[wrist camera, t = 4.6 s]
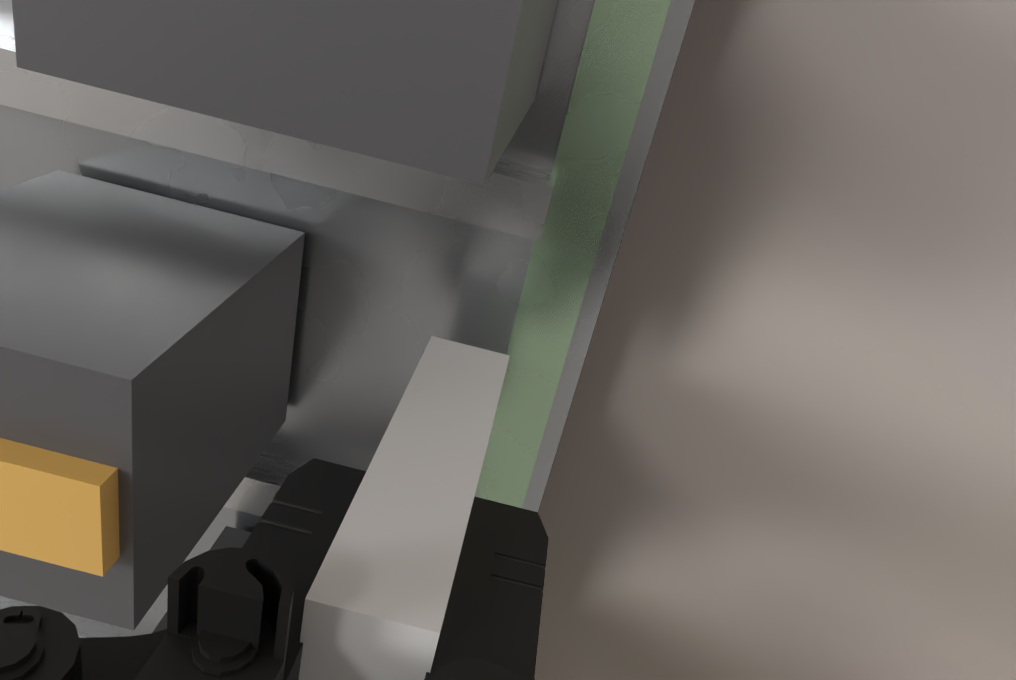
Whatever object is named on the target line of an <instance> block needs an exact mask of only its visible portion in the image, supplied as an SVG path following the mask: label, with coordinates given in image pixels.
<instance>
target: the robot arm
mask: <svg viewBox="0 0 1016 680" xmlns="http://www.w3.org/2000/svg"><path fill="white" fill-rule="evenodd" d="M509 357H510V355H506V354H502V353H498V352H494V351H490V350H486V349H482V348H478V347H474V346H470V345H466V344H462V343H458V342H454V341H450V340H446V339H442V338H438V337H434V336H431V338H430V340H429V342H428V344H427V347H426V349H425V351H424V353H423V355H422V357H421V359H420V361H419V363H418V365H417V367H416V369H415V371H414V374H413V376H412V378H411V380H410V382H409V384H408V386H407V388H406V390H405V392H404V394H403V396H402V399H401V401H400V403H399V405H398V407H397V409H396V411H395V413H394V415H393V417H392V419H391V421H390V424H389V426H388V428H387V430H386V432H385V434H384V436H383V438H382V440H381V442H380V444H379V446H378V448H377V451H376V453H375V455H374V457H373V459H372V461H371V463H370V465H369V467H368V469H367V471H363V470H359V469H355V468H351V467H347V466H343V465H340V464H336V463H332V462H328V461H324V460H320V459H316V458H313V459H312V460H310V461H309V462H307V463H306V464H304V465H302V466H301V467H299V468H298V469H296V470H295V471H293V472H292V473H290V474H289V475H288V476H287V477H286V479H285V481H284V482H283V484H282V485H281V487H280V488H279V490H278V492H277V493H276V495H275V496H274V498H273V501H272V503H270V504H269V506H268V507H267V509H266V511H265V512H264V514H263V515H262V517H261V520H260V522H259V523H257V525H256V526H255V528H254V529H253V531H252V533H251V534H250V536H249V537H248V539H247V541H246V542H245V544H244V545H243V547H242V548H235V547H229V548H223V549H217V550H211V551H206V552H204V553H202V554H200V555H198V556H195V557H193V558H191V559H189V560H187V561H185V562H184V563H182V564H181V565H180V566H179V567H178V568H177V569H176V570H175V571H174V572H173V573H172V574H171V575H170V576H169V577H168V599H167V629H164V630H161V631H158V632H154V633H151V634H144V635H136V636H123V637H94V638H79V636H78V632H77V628H76V625H75V624H74V623H73V622H72V621H71V620H69V619H68V618H67V617H66V616H65V615H64V614H63V613H62V612H59V611H56V610H52V609H49V608H46V607H42V606H11V607H7V608H4V609H0V680H535V679H534V674H535V664H536V654H537V645H538V635H539V625H540V615H541V605H542V596H543V592H542V591H543V586H544V576H545V565H546V557H547V547H548V536H547V534H546V531H545V529H544V527H543V524H542V522H541V519H540V517H539V515H538V512H535V511H531V510H527V509H523V508H519V507H515V506H511V505H507V504H503V503H499V502H495V501H491V500H487V499H483V498H479V497H475V493H476V489H477V485H478V481H479V477H480V473H481V469H482V465H483V461H484V457H485V453H486V449H487V445H488V441H489V437H490V433H491V429H492V425H493V421H494V417H495V413H496V409H497V405H498V401H499V397H500V393H501V389H502V385H503V381H504V377H505V373H506V369H507V365H508V361H509Z"/></svg>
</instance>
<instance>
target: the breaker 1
mask: <svg viewBox="0 0 1016 680" xmlns="http://www.w3.org/2000/svg"><path fill="white" fill-rule="evenodd" d="M556 4H557V0H12V10H13V23H14V37H15V50H16V63H17V67H18V68H22V69H26V70H30V71H34V72H38V73H42V74H46V75H50V76H54V77H58V78H62V79H66V80H70V81H74V82H78V83H82V84H85V85H89V86H93V87H97V88H101V89H105V90H109V91H113V92H117V93H121V94H125V95H129V96H133V97H137V98H141V99H145V100H149V101H153V102H157V103H161V104H165V105H168V106H172V107H176V108H180V109H184V110H188V111H192V112H196V113H200V114H204V115H208V116H212V117H216V118H220V119H224V120H228V121H232V122H236V123H240V124H244V125H248V126H251V127H255V128H259V129H263V130H267V131H271V132H275V133H279V134H283V135H287V136H291V137H295V138H299V139H303V140H307V141H311V142H315V143H319V144H323V145H327V146H331V147H335V148H338V149H342V150H346V151H350V152H354V153H358V154H362V155H366V156H370V157H374V158H378V159H382V160H386V161H390V162H394V163H398V164H402V165H406V166H410V167H414V168H418V169H421V170H425V171H429V172H433V173H437V174H441V175H445V176H449V177H453V178H457V179H461V180H465V181H469V182H473V183H477V184H481V185H485V183H486V181H487V179H488V178H489V176H490V174H491V173H492V171H493V169H494V168H495V166H496V164H497V162H498V161H499V159H500V157H501V156H502V154H503V152H504V150H505V149H506V147H507V145H508V144H509V142H510V140H511V139H512V137H513V135H514V133H515V132H516V130H517V128H518V127H519V125H520V123H521V122H522V120H523V118H524V116H525V115H526V113H527V111H528V110H529V108H530V106H531V105H532V103H533V101H534V99H535V96H536V91H537V87H538V83H539V78H540V74H541V70H542V65H543V61H544V57H545V52H546V48H547V44H548V39H549V35H550V30H551V26H552V22H553V17H554V13H555V9H556Z"/></svg>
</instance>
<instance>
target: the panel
mask: <svg viewBox="0 0 1016 680" xmlns="http://www.w3.org/2000/svg"><path fill="white" fill-rule="evenodd" d="M694 2H695V0H557V4H556V9H555V13H554V17H553V22H552V26H551V30H550V35H549V39H548V44H547V48H546V52H545V57H544V61H543V65H542V70H541V74H540V78H539V83H538V87H537V91H536V96H535V99H534V101H533V103H532V105H531V106H530V108H529V110H528V111H527V113H526V115H525V116H524V118H523V120H522V122H521V123H520V125H519V127H518V128H517V130H516V132H515V133H514V135H513V137H512V139H511V140H510V142H509V144H508V145H507V147H506V149H505V150H504V152H503V154H502V156H501V157H500V159H499V161H498V162H497V164H496V166H495V168H494V169H493V171H492V173H491V174H490V176H489V178H488V179H487V181H486V183H485V185H481V184H477V183H473V182H469V181H465V180H461V179H457V178H453V177H449V176H445V175H441V174H437V173H433V172H429V171H425V170H421V169H418V168H414V167H410V166H406V165H402V164H398V163H394V162H390V161H386V160H382V159H378V158H374V157H370V156H366V155H362V154H358V153H354V152H350V151H346V150H342V149H338V148H335V147H331V146H327V145H323V144H319V143H315V142H311V141H307V140H303V139H299V138H295V137H291V136H287V135H283V134H279V133H275V132H271V131H267V130H263V129H259V128H255V127H251V126H248V125H244V124H240V123H236V122H232V121H228V120H224V119H220V118H216V117H212V116H208V115H204V114H200V113H196V112H192V111H188V110H184V109H180V108H176V107H172V106H168V105H165V104H161V103H157V102H153V101H149V100H145V99H141V98H137V97H133V96H129V95H125V94H121V93H117V92H113V91H109V90H105V89H101V88H97V87H93V86H89V85H85V84H82V83H78V82H74V81H70V80H66V79H62V78H58V77H54V76H50V75H46V74H42V73H38V72H34V71H30V70H26V69H22V68H18V67H17V63H16V50H15V37H14V23H13V10H12V0H0V191H1V190H4V189H6V188H9V187H12V186H15V185H18V184H20V183H23V182H26V181H29V180H32V179H35V178H37V177H40V176H43V175H46V174H49V173H51V172H54V171H57V170H61V171H65V172H69V173H73V174H77V175H81V176H85V177H89V178H93V179H97V180H100V181H104V182H108V183H112V184H116V185H120V186H124V187H128V188H132V189H136V190H140V191H144V192H148V193H152V194H156V195H159V196H163V197H167V198H171V199H175V200H179V201H183V202H187V203H191V204H195V205H199V206H203V207H207V208H211V209H215V210H219V211H222V212H226V213H230V214H234V215H238V216H242V217H246V218H250V219H254V220H258V221H262V222H266V223H270V224H274V225H278V226H282V227H285V228H289V229H293V230H297V231H301V232H305V236H304V246H303V256H302V266H301V276H300V285H299V295H298V305H297V315H296V325H295V334H294V344H293V354H292V364H291V373H290V383H289V393H288V403H287V413H286V421H285V422H284V424H283V425H282V426H281V428H280V429H279V431H278V432H277V433H276V435H275V436H274V437H273V439H272V440H271V442H270V443H269V444H268V446H267V447H266V449H265V450H264V451H263V453H262V454H261V455H260V457H259V458H258V460H257V461H256V462H255V464H254V465H253V467H252V468H251V469H250V471H249V472H248V473H247V475H246V476H245V478H244V479H243V480H242V482H241V483H240V485H239V486H238V487H237V489H236V490H235V491H234V493H233V494H232V496H231V497H230V498H229V500H228V501H227V502H226V504H225V505H224V507H223V508H222V509H221V511H220V512H219V514H218V515H217V516H216V518H215V519H214V520H213V522H212V523H211V525H210V526H209V527H208V529H207V530H206V532H205V533H204V534H203V536H202V537H201V538H200V540H199V541H198V543H197V544H196V545H195V547H194V548H193V550H192V551H191V552H190V554H189V555H188V556H187V558H186V559H185V561H187V560H189V559H191V558H193V557H195V556H198V555H200V554H202V553H204V552H206V551H209V550H210V548H211V547H212V546H213V544H214V543H215V541H216V540H217V538H218V537H219V535H220V534H221V533H222V531H223V530H224V528H225V527H226V526H229V527H233V528H236V529H240V530H244V531H248V532H252V531H253V529H254V528H255V526H256V525H257V523H259V522H260V520H261V517H262V515H263V514H264V512H265V511H266V509H267V507H268V506H269V504H270V503H272V501H273V498H274V496H275V495H276V493H277V492H278V490H279V488H280V487H281V485H282V484H283V482H284V481H285V479H286V477H287V476H288V475H289V474H290V473H292V472H293V471H295V470H296V469H298V468H299V467H301V466H302V465H304V464H306V463H307V462H309V461H310V460H312V459H313V458H316V459H320V460H324V461H328V462H332V463H336V464H340V465H343V466H347V467H351V468H355V469H359V470H363V471H367V469H368V467H369V465H370V463H371V461H372V459H373V457H374V455H375V453H376V451H377V448H378V446H379V444H380V442H381V440H382V438H383V436H384V434H385V432H386V430H387V428H388V426H389V424H390V421H391V419H392V417H393V415H394V413H395V411H396V409H397V407H398V405H399V403H400V401H401V399H402V396H403V394H404V392H405V390H406V388H407V386H408V384H409V382H410V380H411V378H412V376H413V374H414V371H415V369H416V367H417V365H418V363H419V361H420V359H421V357H422V355H423V353H424V351H425V349H426V347H427V344H428V342H429V340H430V338H431V336H434V337H438V338H442V339H446V340H450V341H454V342H458V343H462V344H466V345H470V346H474V347H478V348H482V349H486V350H490V351H494V352H498V353H502V354H506V355H510V357H509V361H508V365H507V369H506V373H505V377H504V381H503V385H502V389H501V393H500V397H499V401H498V405H497V409H496V413H495V417H494V421H493V425H492V429H491V433H490V437H489V441H488V445H487V449H486V453H485V457H484V461H483V465H482V469H481V473H480V477H479V481H478V485H477V489H476V493H475V497H479V498H483V499H487V500H491V501H495V502H499V503H503V504H507V505H511V506H515V507H519V508H523V509H527V510H531V511H535V512H538V510H539V507H540V504H541V500H542V497H543V494H544V491H545V487H546V484H547V481H548V478H549V474H550V471H551V468H552V465H553V461H554V458H555V455H556V452H557V448H558V445H559V442H560V438H561V435H562V432H563V429H564V425H565V422H566V419H567V416H568V412H569V409H570V406H571V403H572V399H573V396H574V393H575V390H576V386H577V383H578V380H579V377H580V373H581V370H582V367H583V364H584V360H585V357H586V354H587V351H588V347H589V344H590V341H591V338H592V334H593V331H594V328H595V325H596V321H597V318H598V315H599V312H600V308H601V305H602V302H603V299H604V295H605V292H606V289H607V285H608V282H609V279H610V276H611V272H612V269H613V266H614V263H615V259H616V256H617V253H618V250H619V246H620V243H621V240H622V237H623V233H624V230H625V227H626V224H627V220H628V217H629V214H630V211H631V207H632V204H633V201H634V198H635V194H636V191H637V188H638V185H639V181H640V178H641V175H642V172H643V168H644V165H645V162H646V159H647V155H648V152H649V149H650V145H651V142H652V139H653V136H654V132H655V129H656V126H657V123H658V119H659V116H660V113H661V110H662V106H663V103H664V100H665V97H666V93H667V90H668V87H669V84H670V80H671V77H672V74H673V71H674V67H675V64H676V61H677V58H678V54H679V51H680V48H681V45H682V41H683V38H684V35H685V32H686V28H687V25H688V22H689V19H690V15H691V12H692V9H693V5H694ZM185 561H184V562H185ZM184 562H183V563H184ZM167 599H168V584H167V586H166V587H165V588H164V590H163V591H162V592H161V594H160V595H159V597H158V598H157V599H156V601H155V602H154V604H153V605H152V606H151V608H150V609H149V610H148V612H147V613H146V615H145V616H144V617H143V619H142V620H141V622H140V623H139V624H138V626H137V627H136V628H135V630H130V629H126V628H122V627H118V626H115V625H111V624H107V623H103V622H99V621H95V620H92V619H88V618H84V617H80V616H76V615H72V614H68V613H65V612H62V613H63V614H64V615H65V616H66V617H67V618H68V619H69V620H71V621H72V622H73V623H74V624H75V625H76V628H77V632H78V636H79V638H94V637H123V636H136V635H144V634H151V633H152V632H153V631H154V629H155V628H156V626H157V625H158V623H159V622H160V621H161V619H162V618H163V616H164V615H165V613H166V612H167ZM11 606H38V605H34V604H30V603H26V602H22V601H18V600H14V599H11V598H7V597H3V596H0V609H4V608H7V607H11ZM52 610H53V609H52ZM56 611H57V610H56ZM59 612H61V611H59Z"/></svg>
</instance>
